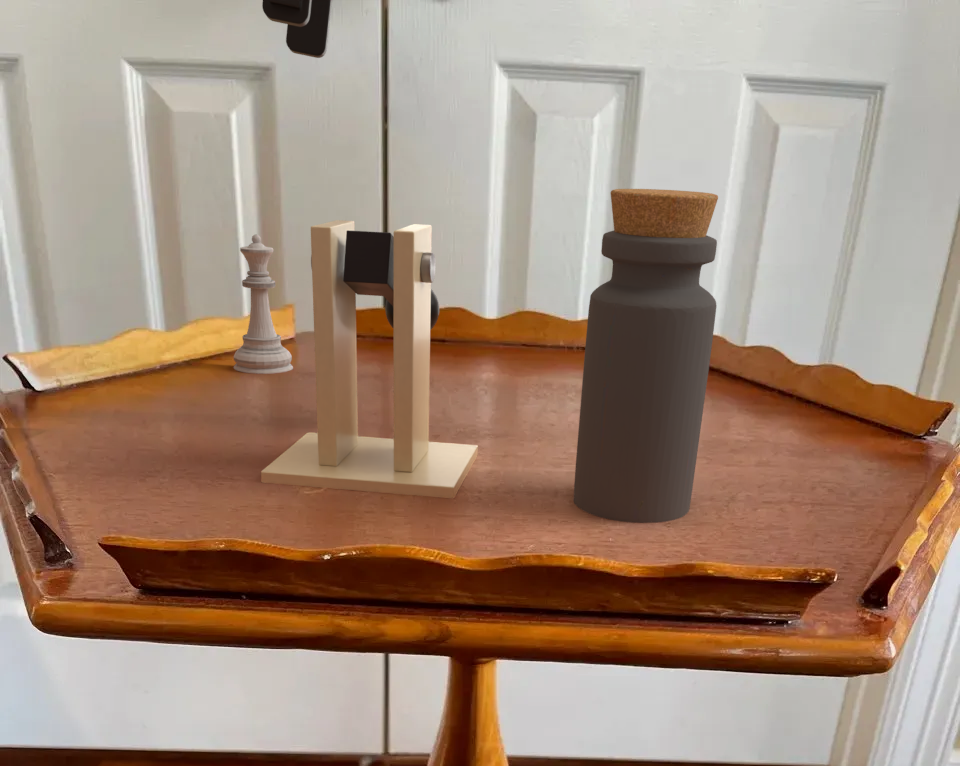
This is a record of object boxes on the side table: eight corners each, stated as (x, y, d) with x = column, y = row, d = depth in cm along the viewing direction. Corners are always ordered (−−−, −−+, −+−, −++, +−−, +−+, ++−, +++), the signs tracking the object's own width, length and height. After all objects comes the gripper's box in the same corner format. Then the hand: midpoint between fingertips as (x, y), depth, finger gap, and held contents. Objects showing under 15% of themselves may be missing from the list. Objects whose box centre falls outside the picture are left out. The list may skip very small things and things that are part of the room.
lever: (389, 340, 62) (393, 286, 62) (441, 343, 62) (445, 289, 62) (332, 289, 50) (336, 220, 49) (396, 292, 49) (401, 224, 49)
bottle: (609, 541, 48) (643, 194, 42) (551, 502, 53) (574, 186, 46) (711, 527, 50) (760, 196, 44) (647, 491, 55) (682, 188, 49)
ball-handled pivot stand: (308, 452, 60) (298, 215, 54) (477, 465, 59) (486, 224, 53) (261, 494, 53) (245, 226, 47) (453, 510, 51) (460, 237, 46)
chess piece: (227, 380, 76) (217, 235, 71) (242, 368, 80) (233, 230, 75) (286, 383, 76) (280, 238, 71) (298, 371, 79) (292, 233, 75)
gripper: (276, -290, 54) (246, 51, 60) (226, -468, 41) (194, -9, 47) (415, -257, 55) (374, 77, 61) (411, -421, 42) (358, 26, 47)
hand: (296, 39), depth 54 cm, fingers open, 8 cm apart
